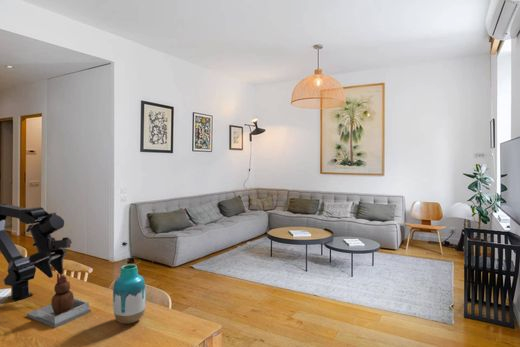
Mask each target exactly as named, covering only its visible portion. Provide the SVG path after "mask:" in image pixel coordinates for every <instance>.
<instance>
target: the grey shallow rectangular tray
mask: <svg viewBox="0 0 520 347" xmlns="http://www.w3.org/2000/svg"><path fill="white" fill-rule="evenodd" d="M91 312H92V310H91V308H90V303H89V302H87V301H85V300H82V299H79V298H77V297H74V303H73V307H72V309H71V310H68V311H66V312H64V313H61V314H59V315H57V314H55V313H54V311H53V309H52V305H51V304H48V305H45V306H43V307H40V308H38V309H35V310H33V311H30V312H27V313H26V317H29V318H30V319H31V320H32V319H33V320H35V321H38V322H39V323H42V324H45V325H46V326H49V327H51V328H53V329H56V328H58V327H61V326H63V325H64V324H67V323H69V322H71V321H74V320H76V319H78V318H80V317H83V316H85V315H88V314H90V313H91Z"/></svg>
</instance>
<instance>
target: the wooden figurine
mask: <svg viewBox="0 0 520 347" xmlns="http://www.w3.org/2000/svg"><path fill="white" fill-rule="evenodd" d="M53 288H54V290H53V291H54V293H55V294H54V295H53V296H52V298H51V305H52V309H53V311H54V313H55V314H57V315H59V314H61V313H64V312H66V311H68V310H71V309H72V307H73V303H74V298H75V296H74V293H73V292H72V291H71V290H70V289H71V283H70V281H68V280H67V277H66V276H65V275H64V274H62V273H61V274H59V273H57V274H56V283H55V285H54V287H53Z"/></svg>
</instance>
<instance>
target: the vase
mask: <svg viewBox="0 0 520 347" xmlns="http://www.w3.org/2000/svg"><path fill="white" fill-rule="evenodd" d="M119 271H120V273H119V277H117V278H116V279H115V280H114V282H113V286H112V307H113V314H114V317H115V320H117V322H119V323H121V324H131V323H135V322H137V321H139V320H140V319H141V318H142V317H143V316H144V314H145V312H146V306H147V305H146V304H147V301H146V299H147V295H146V294H147V293H146V282H145V279H144V277H143V275H140V274H139V273H138V266H137V264H133V263H132V264H125V265H121V267H120V269H119Z"/></svg>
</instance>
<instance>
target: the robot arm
mask: <svg viewBox="0 0 520 347" xmlns="http://www.w3.org/2000/svg"><path fill="white" fill-rule="evenodd" d="M8 217H10V218H16V219H18V220H19V221H20V222H21V223H23V224H25V225H28V227H27V229H26V231H25V232H26V233H30V234H31V238H32V239H33V243H32V247H35V248H36V250H37V252H36V253H33V254H30V255H29V256H26V257H24V256H23V255H22V254H21V253H20V251H19V248H18V247H17V246H16V244H15V243H14V242H13V240H12V238H11V237H10V235H9V234H8V233H7V231H6V229H5V228H6V220H7V218H8ZM64 225H65V220H64V219H63V218H62V217H61V216H60V215H57V213H56V212H51V213H49V212H47V211H46V210H45V208H43V207H41V206H36V207H35V206H34V207H23V206H18V205H13V204H8V203H5V202H4V203H0V252H1V254H2V255H3V257H4V259H5V261H6V262H7V263H8V264H7V273H8V274H7V275H6V277H5V278H4V279H3V282H4V285H5V286H9V287H10V288H11V289H10V290H11V295H8V296H7V299H9V300H12V301H15V302H17V301H20V300H23V299H25V298H29V297H31V296H33V295H34V293H33V292H30V288H29V283H30V282H29V281H31V280H34V279H35V276H36V275H35V274H36V271H37V269H38V270H40V271H41V272H42V273H43V274H44V275H45V276H46V277H48V279H51V278H53V277H54V274H53V271H52V270H53V269H54V270H55V271H56V272H57V274H59V275H60V274H61V273H62V275H64V259H65V257H66V256H67V254H68V252H67V249H69V248H71V246H72V245H71V244H73V242H72V239H70V238H69V236H67V237H66V236H65V237H63V238H62V239H59V240H56V238H55V237H52V234H54V233H56V232H58V230H60V229H62V228H63V227H64ZM66 248H67V249H66ZM52 268H53V269H52Z"/></svg>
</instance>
